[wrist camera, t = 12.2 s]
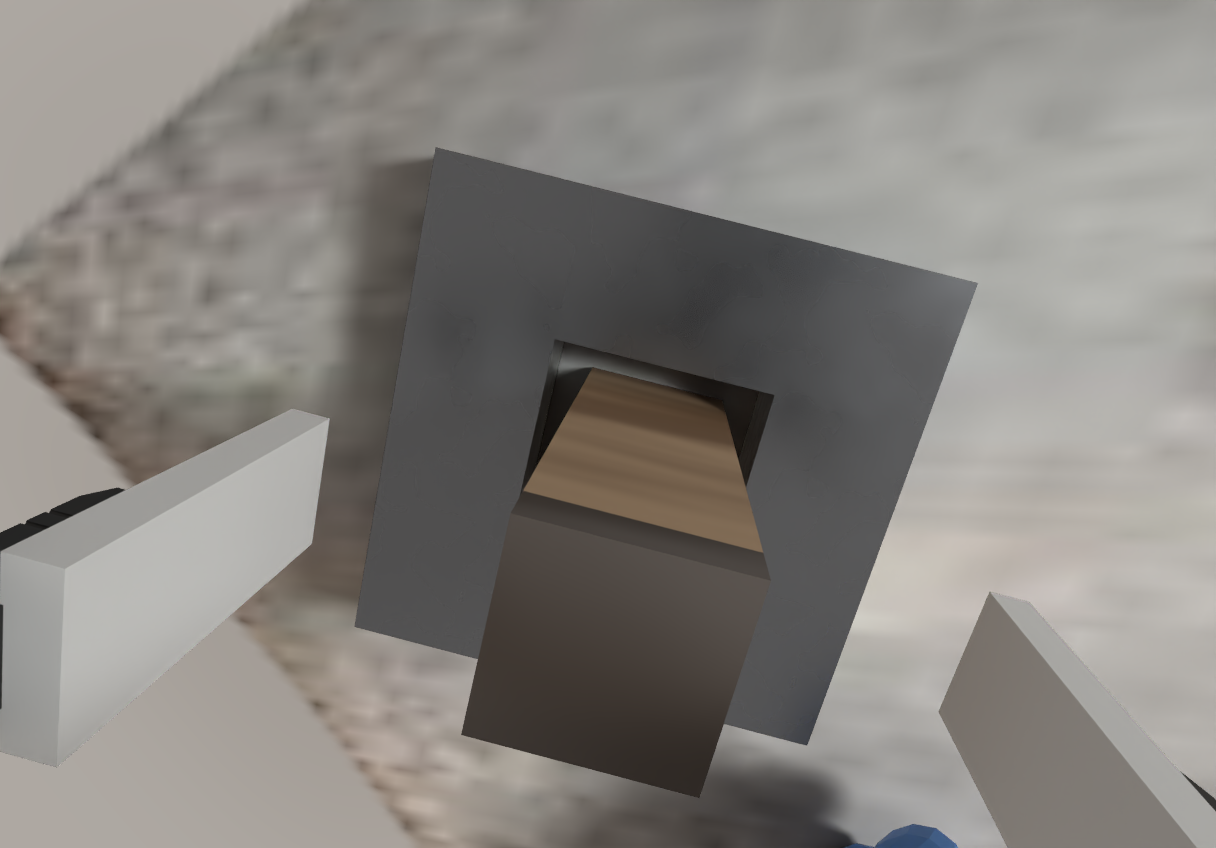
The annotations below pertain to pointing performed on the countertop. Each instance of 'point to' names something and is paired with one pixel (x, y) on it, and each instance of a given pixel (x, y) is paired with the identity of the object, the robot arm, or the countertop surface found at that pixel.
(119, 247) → the countertop surface
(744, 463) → the gray square hole plate
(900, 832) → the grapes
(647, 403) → the wooden block
